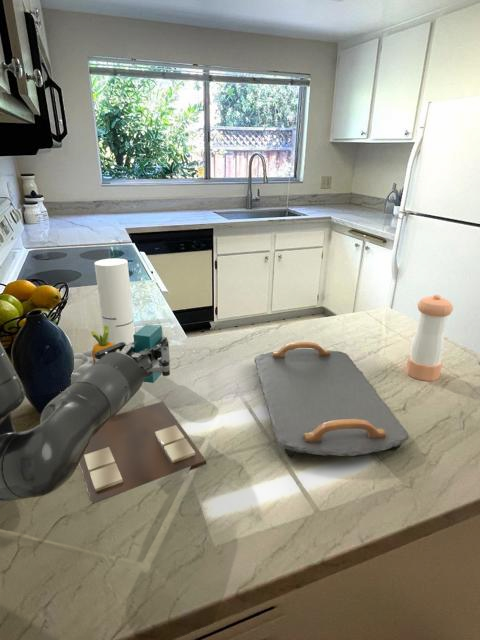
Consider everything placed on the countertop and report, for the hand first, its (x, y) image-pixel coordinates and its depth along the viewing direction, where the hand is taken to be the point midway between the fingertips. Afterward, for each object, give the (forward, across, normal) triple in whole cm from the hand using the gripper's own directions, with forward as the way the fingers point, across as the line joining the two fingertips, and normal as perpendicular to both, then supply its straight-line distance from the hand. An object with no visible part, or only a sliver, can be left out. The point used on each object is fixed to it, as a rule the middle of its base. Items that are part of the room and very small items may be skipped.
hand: (156, 340), depth 74 cm
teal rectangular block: (-3, 0, +6) cm, 6 cm away
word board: (-11, 0, +15) cm, 19 cm away
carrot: (+4, +14, +15) cm, 21 cm away
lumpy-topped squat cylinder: (+3, +17, +15) cm, 23 cm away
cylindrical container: (+17, +18, +15) cm, 29 cm away
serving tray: (+11, -30, +16) cm, 35 cm away
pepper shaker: (+29, -53, +16) cm, 62 cm away
